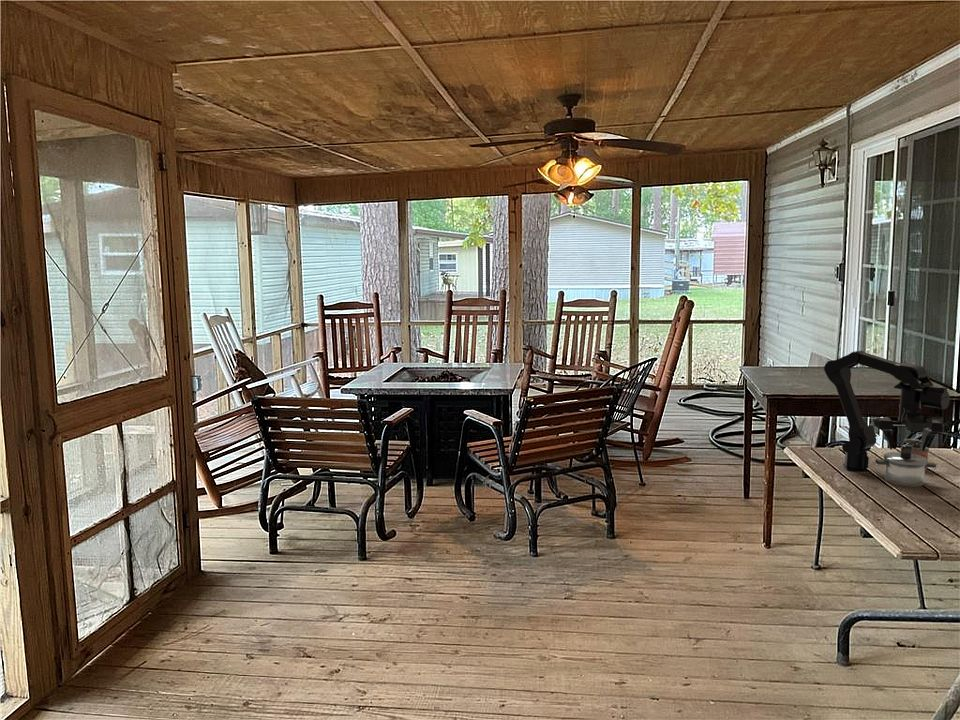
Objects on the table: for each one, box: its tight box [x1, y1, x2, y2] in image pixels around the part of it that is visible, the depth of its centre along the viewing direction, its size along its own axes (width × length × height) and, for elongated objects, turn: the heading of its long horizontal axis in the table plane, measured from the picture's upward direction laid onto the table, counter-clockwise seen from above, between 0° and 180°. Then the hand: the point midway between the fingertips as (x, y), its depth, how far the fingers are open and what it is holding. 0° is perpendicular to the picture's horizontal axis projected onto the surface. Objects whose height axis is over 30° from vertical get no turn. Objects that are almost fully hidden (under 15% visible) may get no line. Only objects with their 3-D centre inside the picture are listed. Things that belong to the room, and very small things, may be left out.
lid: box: [883, 444, 929, 466], centre depth 228 cm, size 12×12×5 cm
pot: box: [875, 458, 937, 488], centre depth 229 cm, size 17×11×7 cm, turn 75°
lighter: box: [904, 438, 930, 471], centre depth 243 cm, size 8×3×10 cm, turn 56°
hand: (906, 450), depth 228 cm, fingers open, 9 cm apart
